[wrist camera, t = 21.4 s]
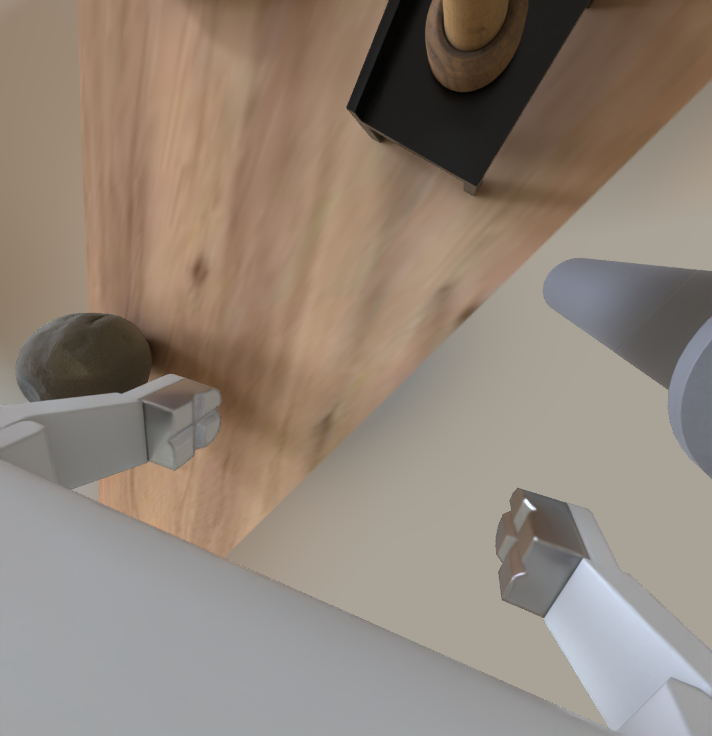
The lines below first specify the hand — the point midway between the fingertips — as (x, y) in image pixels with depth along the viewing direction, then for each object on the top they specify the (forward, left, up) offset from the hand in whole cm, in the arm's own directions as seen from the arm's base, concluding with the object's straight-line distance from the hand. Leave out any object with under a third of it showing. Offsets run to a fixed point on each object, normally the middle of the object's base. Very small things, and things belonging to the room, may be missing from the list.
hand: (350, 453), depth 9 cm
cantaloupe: (+34, +30, -31) cm, 55 cm away
